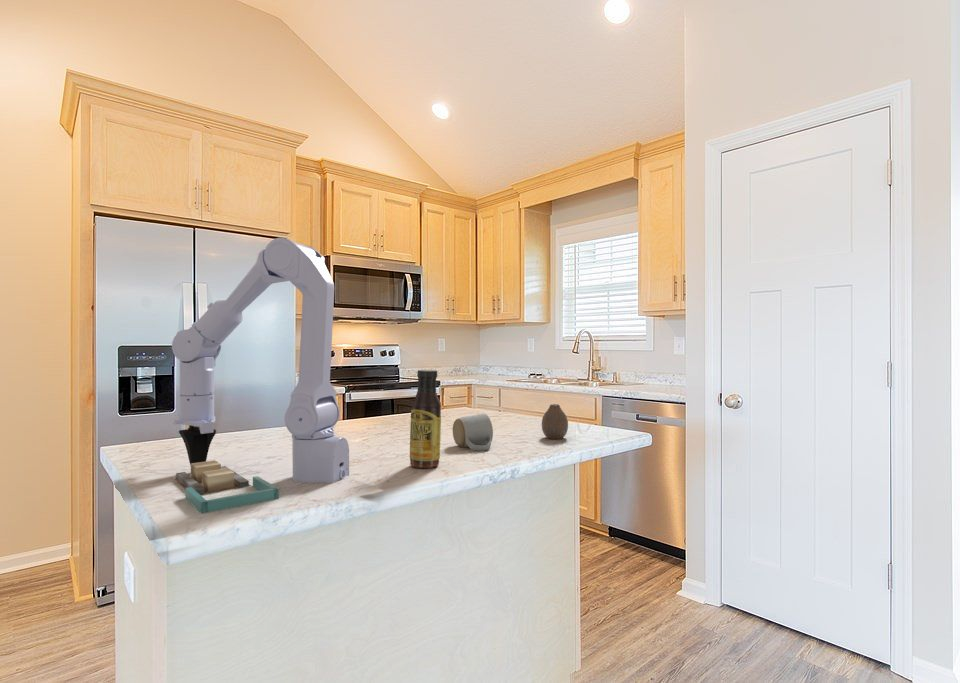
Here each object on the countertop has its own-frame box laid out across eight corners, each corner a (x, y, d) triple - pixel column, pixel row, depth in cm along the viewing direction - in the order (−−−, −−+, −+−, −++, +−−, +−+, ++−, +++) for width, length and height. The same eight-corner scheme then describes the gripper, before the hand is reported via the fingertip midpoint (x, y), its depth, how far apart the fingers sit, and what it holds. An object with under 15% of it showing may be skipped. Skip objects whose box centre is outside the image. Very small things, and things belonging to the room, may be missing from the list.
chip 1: (220, 478, 97) (220, 464, 97) (196, 482, 94) (196, 467, 94) (214, 473, 100) (214, 460, 100) (190, 477, 97) (190, 463, 97)
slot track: (251, 494, 92) (251, 480, 92) (192, 505, 86) (192, 490, 86) (227, 478, 102) (227, 465, 102) (173, 486, 97) (173, 473, 97)
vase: (537, 436, 144) (537, 403, 144) (560, 435, 147) (560, 402, 147) (548, 441, 138) (548, 406, 138) (572, 439, 140) (572, 405, 140)
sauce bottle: (403, 467, 110) (403, 370, 110) (420, 461, 116) (420, 368, 116) (430, 471, 107) (430, 371, 107) (447, 464, 113) (446, 369, 113)
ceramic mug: (450, 444, 134) (450, 413, 134) (480, 441, 137) (480, 411, 137) (468, 453, 124) (468, 420, 124) (500, 450, 128) (500, 417, 128)
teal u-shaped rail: (278, 507, 84) (278, 488, 84) (201, 523, 77) (201, 502, 77) (257, 493, 92) (257, 476, 92) (185, 506, 85) (185, 487, 85)
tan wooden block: (234, 487, 91) (234, 472, 91) (208, 491, 88) (208, 476, 88) (227, 482, 94) (227, 468, 94) (202, 486, 91) (201, 471, 91)
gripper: (165, 393, 104) (165, 463, 104) (181, 399, 93) (182, 478, 93) (205, 390, 109) (205, 458, 109) (225, 396, 98) (226, 471, 98)
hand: (197, 466), depth 101 cm, fingers closed
